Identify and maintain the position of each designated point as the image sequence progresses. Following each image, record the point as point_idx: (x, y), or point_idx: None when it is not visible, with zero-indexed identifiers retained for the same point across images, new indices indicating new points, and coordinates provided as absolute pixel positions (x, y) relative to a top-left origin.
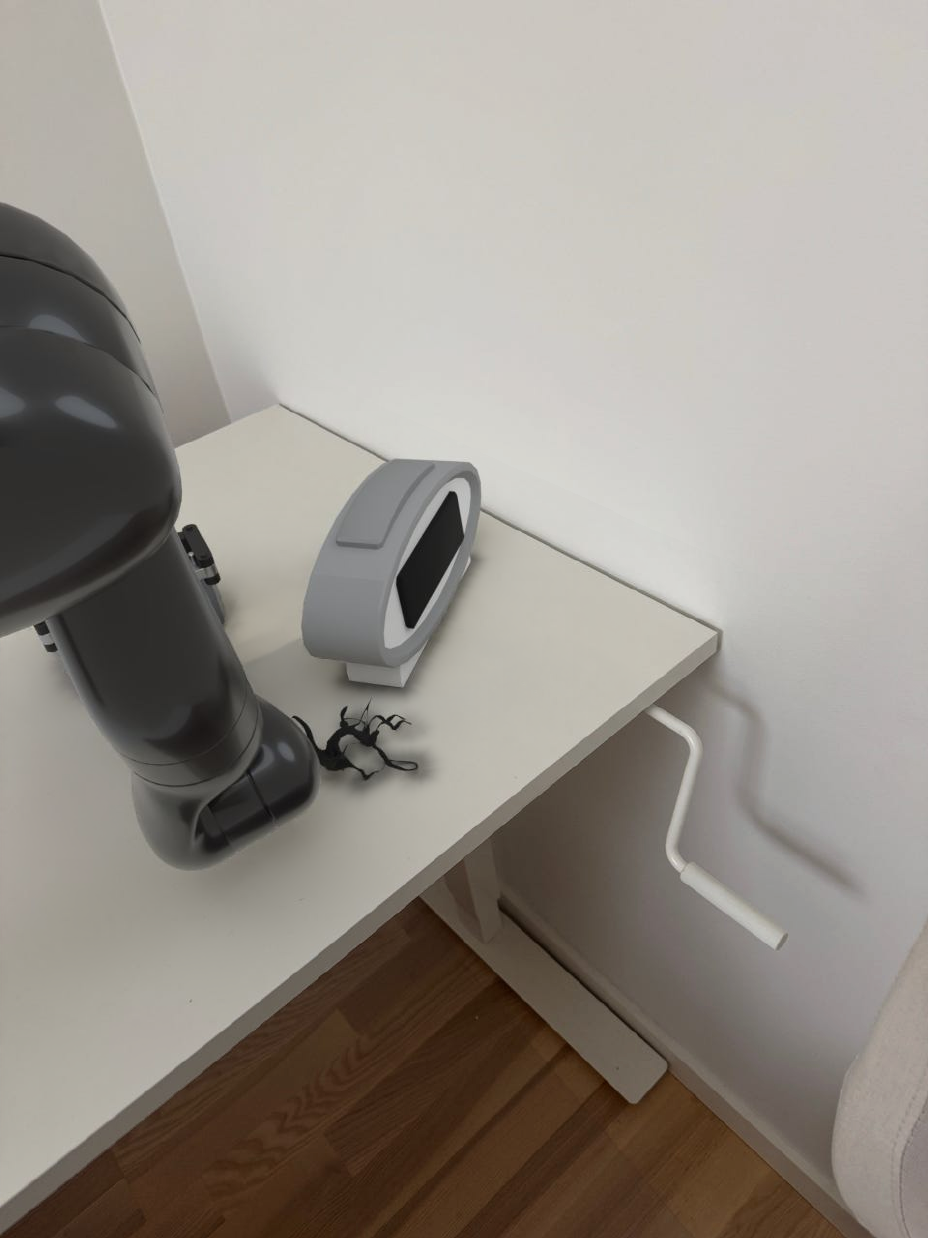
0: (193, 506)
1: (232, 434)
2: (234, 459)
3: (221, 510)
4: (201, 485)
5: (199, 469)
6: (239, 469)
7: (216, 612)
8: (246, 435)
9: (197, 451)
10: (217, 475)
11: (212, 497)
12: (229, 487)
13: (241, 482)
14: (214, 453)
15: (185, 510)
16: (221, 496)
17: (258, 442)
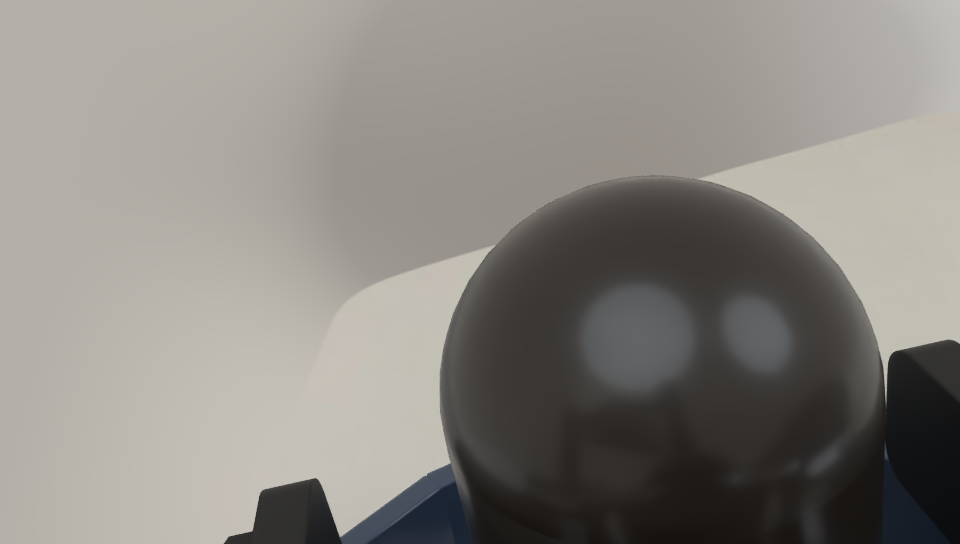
0: None
1: (853, 148)
2: (881, 198)
3: (895, 327)
4: None
5: (788, 211)
6: (907, 222)
7: None
8: (893, 152)
9: (772, 173)
10: (845, 229)
11: None
12: (895, 264)
13: (930, 255)
14: (819, 181)
15: None
16: (879, 285)
17: (935, 168)
